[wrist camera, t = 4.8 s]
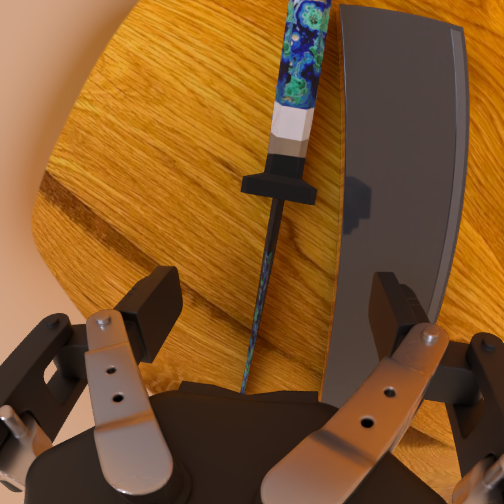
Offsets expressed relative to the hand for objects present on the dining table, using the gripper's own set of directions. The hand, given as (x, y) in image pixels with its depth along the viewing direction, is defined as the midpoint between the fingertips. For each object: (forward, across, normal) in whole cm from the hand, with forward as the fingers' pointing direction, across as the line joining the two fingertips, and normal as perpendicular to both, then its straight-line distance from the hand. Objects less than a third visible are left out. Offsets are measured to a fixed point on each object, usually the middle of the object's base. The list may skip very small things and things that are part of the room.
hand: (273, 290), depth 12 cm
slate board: (+6, -7, 0) cm, 9 cm away
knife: (+6, +1, 0) cm, 6 cm away
